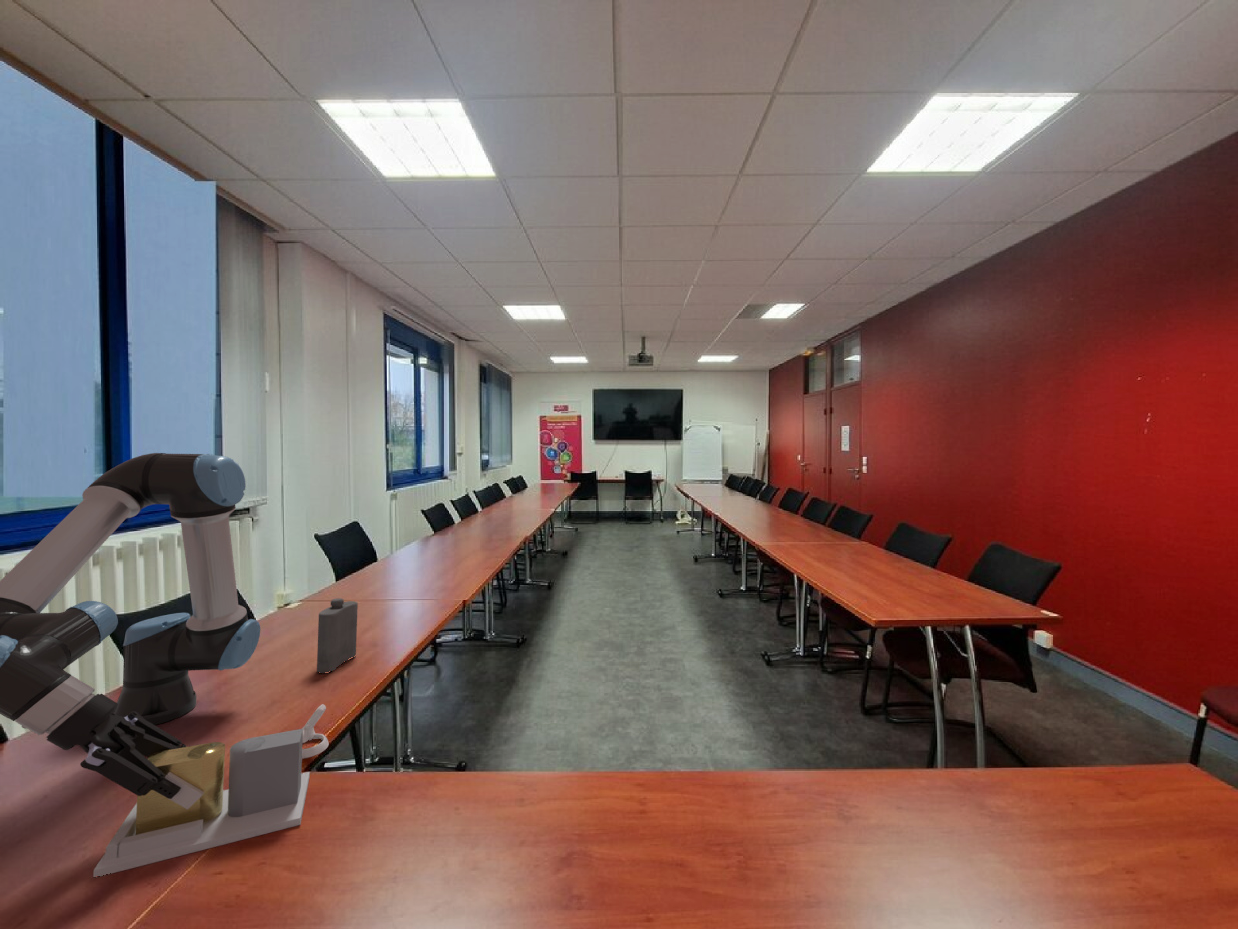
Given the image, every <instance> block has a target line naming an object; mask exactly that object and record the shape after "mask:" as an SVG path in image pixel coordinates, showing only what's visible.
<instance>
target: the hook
mask: <svg viewBox="0 0 1238 929" xmlns="http://www.w3.org/2000/svg"><path fill="white" fill-rule="evenodd" d="M326 710H327V705H325V704H324V703H322V704H320V705H319V706H318V707H317V708H316V710H315V711H314V712H313V713H312V715H311V716H310V718H309V719H308V720H307V722H306V723H305V725H303V727H302V728H301V729H303V741H302V744H304V743H306V742H308V740H309V741H313V740H312V739H321V742H320V743H318V744H316V745H313V746H310V747H307V748H302V760H304V759H309V758H311V757H314V756H317V755H319V754H321V753H322V752H324V751H326V749H327V748H328V747H329V745H330V744H329V739H328V737H327V736H326V735H325V734H323V733H316V732H315V728H314V727H315V726H316V724H317V723H318V721H319V720H320V719H321V717H322V716H323V714H324V713H325V712H326Z"/></svg>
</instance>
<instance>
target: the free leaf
mask: <svg viewBox="0 0 1238 929" xmlns="http://www.w3.org/2000/svg"><path fill="white" fill-rule="evenodd" d="M225 757H226V744H225V743H224V742H220V741H217V742H216V741H214V742H208V743H201V744H197V745H196V744H195V745H190V746H186V747H183V748H177V749H172V750H166V751H160V752H154V753H151V754H150V755H149V757H146V758H147V759H148V760H149V761H150V762H151V763H152V764H154V765H155V766H156V767H157V768H158V769H160V770H161V771H162V772H163V773H164V774H165V775H166V774H168V773H169V772H171V773H173V774H174V775H176V776H178V777H179V778H181V779H183V780H185V781H186V782H188V783H190V784H191V785H193V786H195V787H196V788H198V789H200V790H202V791H203V792H204V793H203V795H202V796H201V797H200V798H199V799H198V800H197V801H196V802H195V803H194V804H193V805H192V806H191V807H190V808H189V809H186V808H184V807H182V806H180V805H179V804H177V803H175V802H173V801H172V800H170V799H168V798H166V797H165V796H163V795H161V794H159V793H157V792H156V791H154V790H151V791H150V792H149V793H147V794H146V795H145V796H143V795H142V796H138V795H136V803H137V812H136V834H135V835H138V834H142V833H147V832H151V831H155V830H159V829H164V828H168V827H172V826H176V825H180V824H185V823H189V822H193V821H197V820H202V819H203V823H204V822H207V821H209V820H211V819H213V818H215V817H216V816H217V815H218V814H220V812H221V811H222V806H223V790H224V783H225V781H224V780H225V762H226V760H225Z"/></svg>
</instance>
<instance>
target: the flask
mask: <svg viewBox="0 0 1238 929" xmlns="http://www.w3.org/2000/svg"><path fill="white" fill-rule="evenodd" d="M358 605H359V603H358V602H357V601H351V600H350V601H345V600H344V599H343V598H340V597H339V598H333V599H332V600H331V601H330V606H329V607H327V608H325V609H323V610H321V611H320V612H319V613H318V624H317V625H318V626H317V627H318V629H317V650H316V651H317V655H316V656H317V658H316V673H317V672H320V673H325V672H329V671H333V670H334V671H336V670H337V668H336V667H338V666H339V665H340V664H342V663H343V662H344V661H347V660H348V659H349V658H351V657H354V656H355V655H356V656H357V633H358V607H359V606H358ZM354 658H355V657H354ZM347 662H348V661H347ZM343 664H344V663H343ZM343 664H342V665H343ZM340 666H341V665H340ZM340 666H339V667H340ZM339 667H338V668H339ZM334 671H333V672H334Z"/></svg>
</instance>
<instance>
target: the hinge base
mask: <svg viewBox="0 0 1238 929" xmlns="http://www.w3.org/2000/svg"><path fill="white" fill-rule="evenodd" d="M302 741H303V729H302V728H299V729H293V730H287V731H282V732H277V733H271V734H266V735H265V734H264V735H260V736H254V737H249V738H246V739H242V740H240V741H238V742H236V743H234V744H233V745H232V746H230V749H229V764H228V765H229V766H228V768H229V769H228V789H223V806H222V811H221V812H220V814H218V815H217V816H216V817H215V818H213V819H211V820H209V821H207V822H204V823H203V819H202V820H197V821H193V822H189V823H185V824H180V825H176V826H172V827H168V828H164V829H159V830H155V831H151V832H147V833H142V834H138V835H135V834H136V812H137V802H136V803H135V805H133V808H132V809H131V810H130V812H129V813H128V814H127V816H126V818H125V819H124V821H123V822H122V823H121V825H120V826H119V828H118V829H117V831H116V833H115V834H114V835H113V837H112V838H111V839H110V841H109V843H108V844H107V846H106V847H105V853H104V854H103V856H102V857H101V859H100V860H99V861H98V863H97V865H95V867H94V869H93V877H96V876H100V877H104V876H107V875H106V874H108V875H111V874H114V873H119V872H122V871H126V870H130V869H134V868H138V867H142V866H146V865H150V864H153V863H158V862H162V861H165V860H168V859H169V860H171V859H173V858H176V857H180V856H184V855H189V854H192V853H196V852H200V851H203V850H208V849H211V848H215V847H221V846H224V845H229V844H231V843H235V842H238V841H242V840H247V839H250V838H254V837H258V836H261V835H262V836H263V835H266V834H269V833H274V832H277V831H281V830H285V829H290V828H294V827H298V826H301V824H302V823H301V822H302V817H303V813H304V808H305V802H306V798H307V793H308V788H309V782H310V774H311V772H310V771H306V772H303V773H302V770H303V769H302V765H303V764H302V762H303V759H302V749H303V743H302ZM110 873H111V874H110ZM103 875H104V876H103ZM96 878H97V877H96Z"/></svg>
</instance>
